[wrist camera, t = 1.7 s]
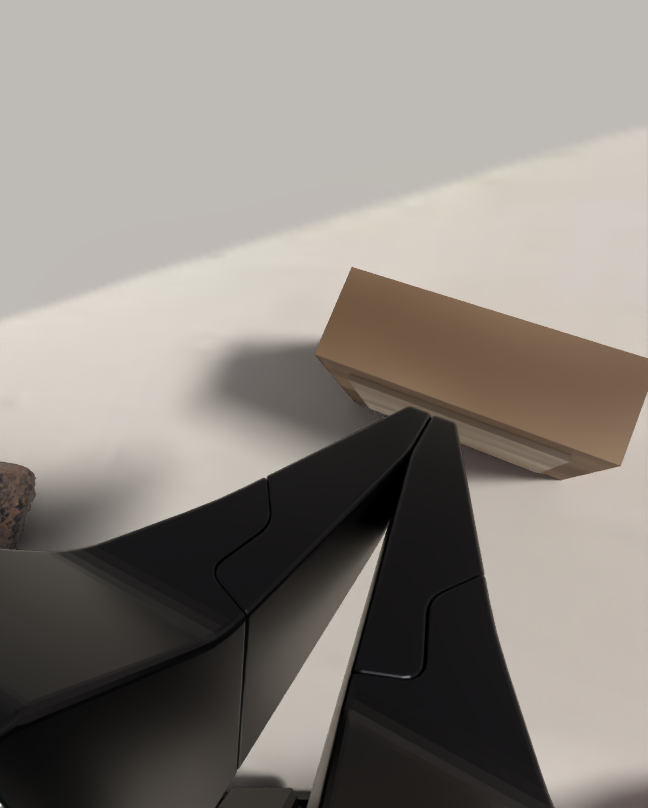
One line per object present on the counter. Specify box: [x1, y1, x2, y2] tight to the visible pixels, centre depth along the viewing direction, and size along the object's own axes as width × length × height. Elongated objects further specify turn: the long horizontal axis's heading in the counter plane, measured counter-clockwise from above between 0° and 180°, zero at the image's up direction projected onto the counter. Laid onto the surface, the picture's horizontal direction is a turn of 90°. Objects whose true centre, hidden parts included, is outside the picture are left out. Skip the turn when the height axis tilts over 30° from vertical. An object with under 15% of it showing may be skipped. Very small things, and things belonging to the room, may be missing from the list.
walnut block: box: [315, 267, 648, 480], centre depth 19 cm, size 3×9×8 cm, turn 67°
